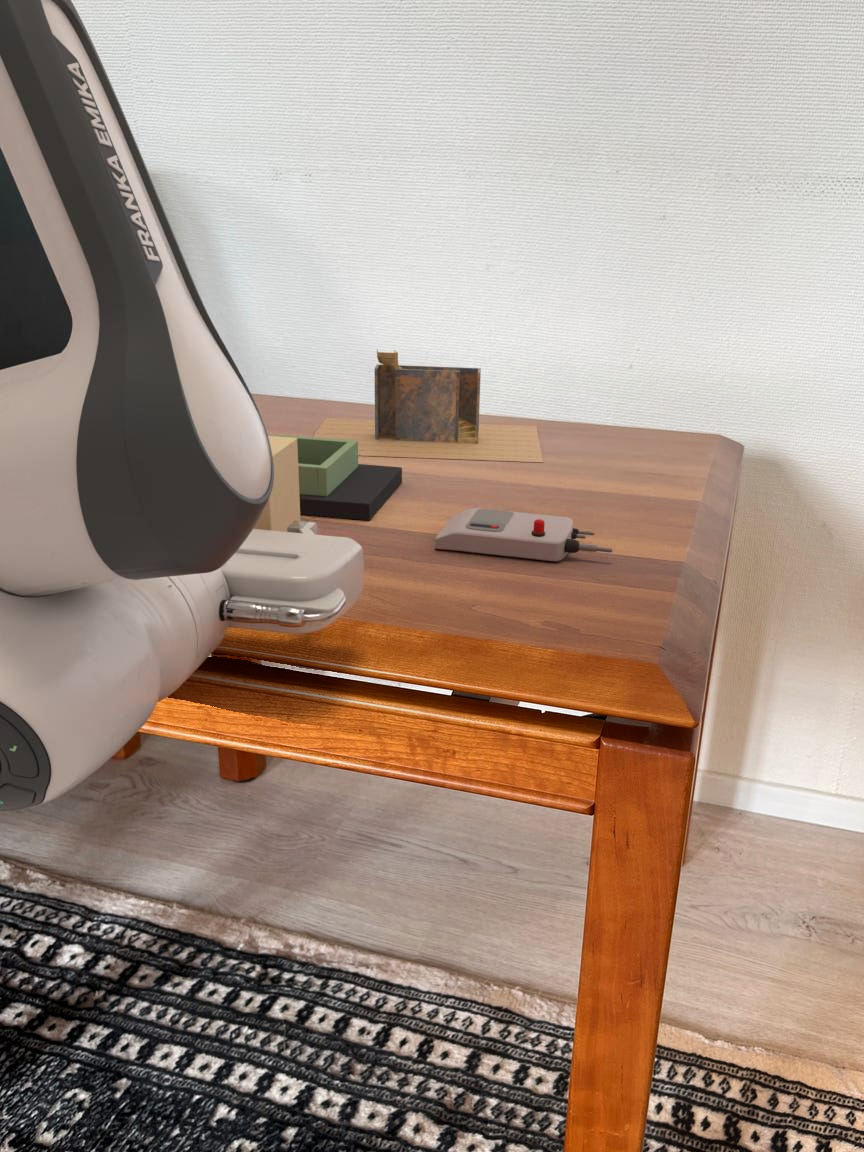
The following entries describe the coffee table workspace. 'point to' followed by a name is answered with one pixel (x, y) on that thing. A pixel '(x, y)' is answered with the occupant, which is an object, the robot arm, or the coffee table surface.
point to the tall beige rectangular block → (282, 487)
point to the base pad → (341, 479)
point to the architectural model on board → (431, 418)
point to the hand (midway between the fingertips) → (238, 526)
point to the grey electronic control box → (513, 535)
